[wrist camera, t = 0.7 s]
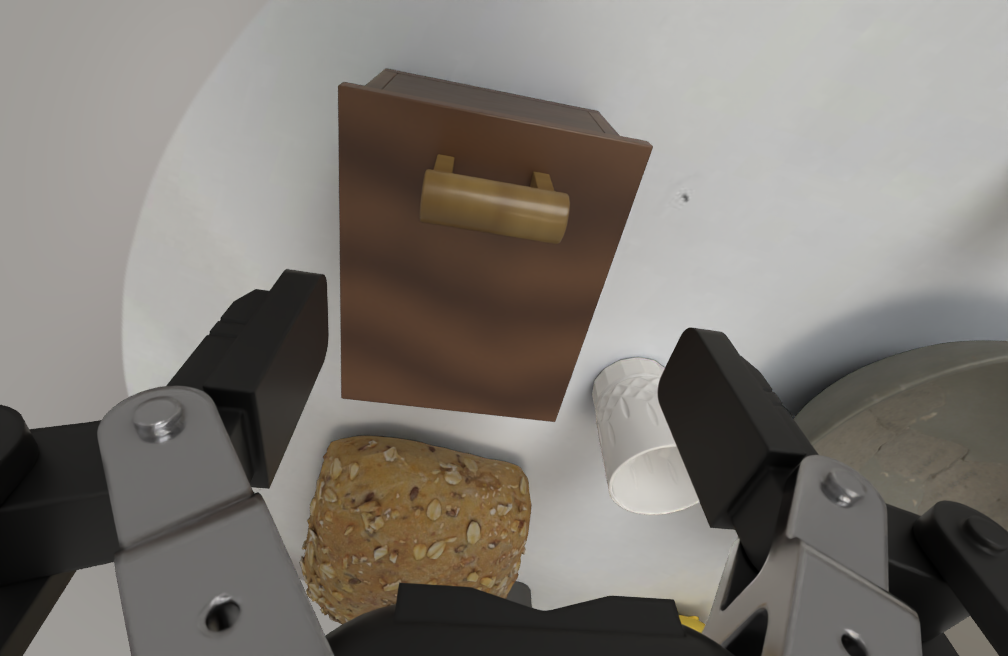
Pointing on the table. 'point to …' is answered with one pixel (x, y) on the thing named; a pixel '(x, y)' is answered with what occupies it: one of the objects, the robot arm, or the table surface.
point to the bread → (410, 523)
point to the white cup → (639, 441)
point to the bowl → (922, 426)
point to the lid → (472, 250)
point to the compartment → (490, 100)
